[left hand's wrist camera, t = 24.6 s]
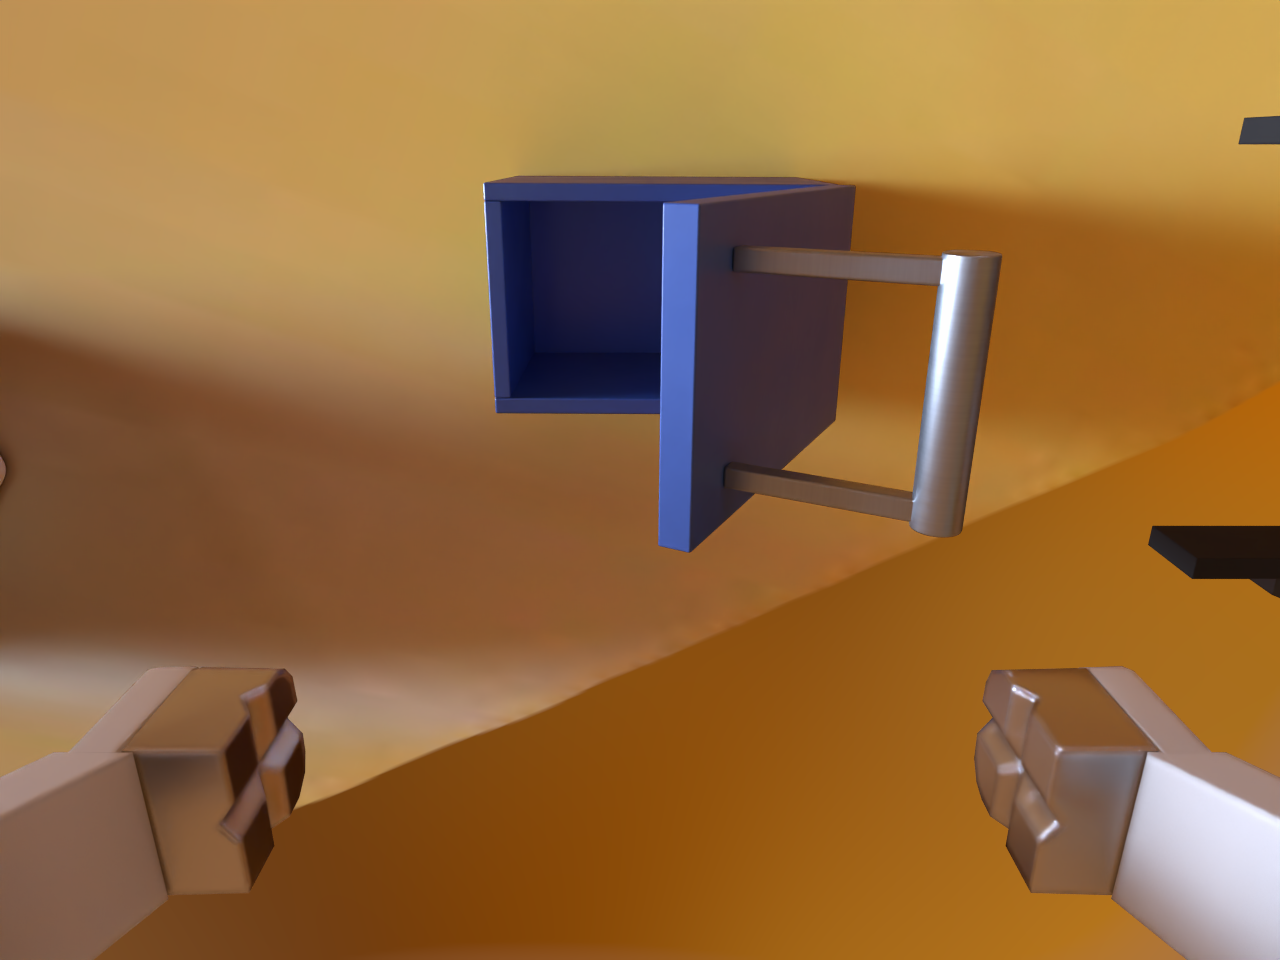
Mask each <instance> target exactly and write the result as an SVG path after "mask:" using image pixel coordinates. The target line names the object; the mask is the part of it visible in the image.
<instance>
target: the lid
mask: <svg viewBox="0 0 1280 960" xmlns="http://www.w3.org/2000/svg"><path fill="white" fill-rule="evenodd" d="M855 189H856V187H855V186H854V185H825V186H815V187H806V188H797V189H787V190H778V191H768V192H759V193H749V194H740V195H731V196H721V197H712V198H702V199H693V200H683V201H674V202H665V203H664V204H663V247H662V320H661V394H660V467H659V541H658V544H659V546H662V547H666V548H671V549H675V550H680V551H684V552H691V551H693V550H694V549H695V548H696V547H697V546H698V545H699V544H700V543H701V542H702V541H704V540H705V539H706V538H707V537H708V536H709V535H710V534H711V533H712V532H713V531H714V530H716V529H717V528H718V527H719V526H720V525H721V524H722V523H723V522H724V521H725V520H727V519H728V518H729V517H730V516H731V515H732V514H733V513H734V512H735V511H736V510H738V509H739V508H740V507H741V506H742V505H743V504H744V503H745V502H746V501H747V500H748V499H750V498H751V497H752V496H753V495H754V494H755V493H757V494H762V495H768V496H773V497H779V498H784V499H790V500H795V501H800V502H806V503H811V504H817V505H822V506H828V507H833V508H838V509H844V510H849V511H855V512H860V513H866V514H871V515H877V516H882V517H887V518H893V519H898V520H904V521H909V525H910V527H911V528H912V529H913V530H914V531H916V532H918V533H921V534H924V535H927V536H933V537H953V536H956V535H959V534H960V533H961V531H962V527H963V521H964V514H965V507H966V500H967V493H968V486H969V480H970V473H971V466H972V459H973V452H974V446H975V439H976V432H977V425H978V418H979V411H980V405H981V398H982V391H983V384H984V377H985V371H986V364H987V357H988V350H989V343H990V336H991V330H992V323H993V316H994V309H995V302H996V295H997V289H998V282H999V275H1000V268H1001V261H1002V254H1000V253H997V252H991V251H980V250H948V251H944V252H943V253H942V256H933V255H914V254H896V253H878V252H860V251H850V247H851V235H852V224H853V212H854V201H855ZM848 280H858V281H872V282H887V283H901V284H916V285H930V286H938V291H937V299H936V307H935V315H934V323H933V332H932V340H931V348H930V356H929V364H928V372H927V380H926V388H925V397H924V405H923V413H922V421H921V429H920V437H919V445H918V454H917V462H916V470H915V478H914V486H913V492H909V491H904V490H898V489H892V488H886V487H880V486H874V485H868V484H862V483H856V482H850V481H844V480H839V479H833V478H827V477H821V476H815V475H809V474H803V473H797V472H791V471H785V470H781V469H783V468H784V467H785V466H786V465H787V464H788V463H789V462H790V461H791V460H792V459H793V458H795V457H796V456H797V455H798V454H799V453H800V452H801V451H802V450H803V449H804V448H806V447H807V446H808V445H809V444H810V443H811V442H812V441H813V440H814V439H815V438H817V437H818V436H819V435H820V434H821V433H822V432H823V431H824V430H825V429H826V428H827V427H829V426H830V425H831V424H832V423H833V422H834V421H835V419H836V408H837V396H838V385H839V373H840V362H841V350H842V339H843V327H844V316H845V304H846V293H847V281H848Z"/></svg>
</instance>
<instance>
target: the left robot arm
mask: <svg viewBox="0 0 1280 960" xmlns="http://www.w3.org/2000/svg"><path fill="white" fill-rule="evenodd" d="M5 475H6V466H5V463H4V461H3V459H2V457H1V455H0V486H1V484H2V482H3V480H4V478H5ZM296 702H297V697H296V692H295V687H294V682H293V677H292V676H291V675H290V674H289V673H288V672H287V671H286V670H285V669H272V668H222V667H201V668H198V667H157V668H153V669H149V670H147V671H146V672H145V673H144V674H143V675H142V676H141V677H140V678H139V679H138V680H137V681H136V682H135V683H134V684H133V685H132V687H131V688H130V689H129V690H128V691H127V692H126V693H125V694H124V695H123V696H122V697H121V698H120V699H119V700H118V701H117V702H116V703H115V704H114V705H113V706H112V707H111V708H110V709H109V710H108V712H107V713H106V714H105V715H104V716H103V717H102V718H101V719H100V720H99V721H98V722H97V723H96V724H95V725H94V726H93V727H92V728H91V729H90V730H89V731H88V732H87V733H86V734H85V735H84V737H83V738H82V739H81V740H80V741H79V742H78V743H77V744H76V745H75V746H74V747H73V748H72V749H71V750H70V751H69V752H54V753H52V754H49V755H47V756H45V757H43V758H41V759H39V760H37V761H34V762H32V763H30V764H28V765H26V766H24V767H22V768H19V769H17V770H15V771H13V772H11V773H9V774H7V775H4V776H2V777H0V960H94V959H95V958H96V957H97V956H99V955H100V954H101V953H102V952H104V951H105V950H106V949H107V948H109V947H110V946H111V945H112V944H114V943H115V942H116V941H117V940H119V939H120V938H121V937H122V936H123V935H125V934H126V933H127V932H128V931H130V930H131V929H132V928H133V927H135V926H136V925H137V924H138V923H140V922H141V921H142V920H143V919H145V918H146V917H147V916H148V915H149V914H151V913H152V912H153V911H154V910H156V909H157V908H158V907H159V906H161V905H162V904H163V903H164V902H166V901H167V900H168V895H187V894H222V893H249V892H250V890H251V888H252V886H253V885H254V883H255V881H256V879H257V877H258V875H259V873H260V872H261V870H262V868H263V866H264V864H265V862H266V860H267V858H268V857H269V855H270V853H271V851H272V849H273V847H274V841H273V836H272V830H271V829H272V828H273V827H275V826H276V825H278V824H279V823H281V822H282V821H283V820H285V819H286V818H288V817H289V816H290V815H291V813H292V811H293V809H294V807H295V805H296V803H297V801H298V799H299V796H300V792H301V787H302V783H303V779H304V774H305V746H304V740H303V733H302V732H301V731H300V730H299V729H298V728H297V727H296V726H295V725H294V724H293V723H292V722H291V721H290V720H289V719H288V718H287V717H288V715H289V714H290V712H291V711H292V709H293V707H294V706H295V704H296ZM983 702H984V704H985V706H986V707H987V709H988V710H989V712H990V714H991V715H992V717H993V718H992V719H991V720H990V721H989V722H988V723H987V724H986V725H985V726H984V727H983V728H982V729H981V730H980V731H979V732H978V733H977V741H976V749H975V757H974V760H975V770H976V781H977V785H978V788H979V792H980V795H981V798H982V801H983V803H984V805H985V807H986V809H987V811H988V813H989V815H990V816H991V817H992V818H994V819H995V820H997V821H998V822H999V823H1001V824H1002V825H1004V826H1005V827H1007V828H1008V829H1009V830H1008V836H1007V841H1006V847H1007V849H1008V851H1009V853H1010V855H1011V857H1012V858H1013V860H1014V862H1015V864H1016V866H1017V868H1018V870H1019V871H1020V873H1021V875H1022V877H1023V879H1024V881H1025V883H1026V884H1027V886H1028V888H1029V890H1030V892H1031V893H1056V894H1093V895H1112V900H1114V901H1115V902H1116V903H1117V904H1119V905H1120V906H1121V907H1122V908H1124V909H1125V910H1126V911H1127V912H1128V913H1130V914H1131V915H1132V916H1133V917H1135V918H1136V919H1137V920H1138V921H1140V922H1141V923H1142V924H1143V925H1144V926H1146V927H1147V928H1148V929H1149V930H1151V931H1152V932H1153V933H1154V934H1156V935H1157V936H1158V937H1159V938H1161V939H1162V940H1163V941H1164V942H1166V943H1167V944H1168V945H1169V946H1170V947H1172V948H1173V949H1174V950H1175V951H1177V952H1178V953H1179V954H1180V955H1182V956H1183V957H1184V958H1185V959H1187V960H1280V777H1277V776H1275V775H1273V774H1271V773H1269V772H1267V771H1265V770H1263V769H1261V768H1258V767H1256V766H1254V765H1252V764H1250V763H1248V762H1246V761H1243V760H1241V759H1239V758H1237V757H1235V756H1233V755H1231V754H1228V753H1226V752H1211V751H1210V750H1209V749H1208V748H1207V747H1206V746H1205V745H1204V744H1203V743H1202V742H1201V741H1200V740H1199V739H1198V737H1197V736H1196V735H1195V734H1194V733H1193V732H1192V731H1191V730H1190V729H1189V728H1188V727H1187V726H1186V725H1185V724H1184V723H1183V722H1182V721H1181V720H1180V719H1179V718H1178V717H1177V716H1176V715H1175V714H1174V712H1173V711H1172V710H1171V709H1170V708H1169V707H1168V706H1167V705H1166V704H1165V703H1164V702H1163V701H1162V700H1161V699H1160V698H1159V697H1158V696H1157V695H1156V694H1155V693H1154V692H1153V691H1152V690H1151V688H1150V687H1149V686H1148V685H1147V684H1146V683H1145V682H1144V681H1143V680H1142V679H1141V678H1140V677H1139V676H1138V675H1137V674H1136V673H1135V672H1134V671H1133V670H1130V669H1128V668H1125V667H1123V666H1114V667H1086V668H1064V669H1023V670H992V671H991V673H990V675H989V677H988V679H987V681H986V685H985V691H984V696H983Z"/></svg>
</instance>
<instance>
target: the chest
mask: <svg viewBox="0 0 1280 960" xmlns="http://www.w3.org/2000/svg"><path fill="white" fill-rule="evenodd" d="M825 185H837V184H832V183H826V182H820V181H814V180H809V179H803V178H797V177H626V176H515V177H510V178H505V179H500V180H495V181H490V182H486V183H484V184H483V190H484V200H485V202H484V208H485V226H486V245H487V263H488V281H489V299H490V317H491V336H492V354H493V372H494V390H495V397H496V398H495V408H496V413H555V414H660V394H661V320H662V247H663V204H664V203H665V202H674V201H683V200H693V199H702V198H712V197H721V196H731V195H740V194H749V193H759V192H768V191H778V190H787V189H797V188H806V187H815V186H825Z"/></svg>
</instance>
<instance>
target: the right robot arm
mask: <svg viewBox="0 0 1280 960" xmlns="http://www.w3.org/2000/svg"><path fill="white" fill-rule="evenodd" d="M1239 144H1280V116H1271V117H1253V118H1244V122H1243V127H1242V131H1241V135H1240V140H1239ZM1148 545H1149V546H1150V547H1152V548H1153V549H1154V550H1156V551H1157V552H1158V553H1159V554H1161V555H1162V556H1163V557H1165V558H1166V559H1167V560H1168V561H1170V562H1171V563H1172V564H1174V565H1175V566H1176V567H1178V568H1179V569H1180V570H1181V571H1183V572H1184V573H1185V574H1187V575H1188V576H1189V577H1190V578H1192V579H1250V580H1252V581H1253V582H1255V583H1256V584H1257V585H1259V586H1260V587H1262V588H1263V589H1264V590H1266V591H1267V592H1269V593H1270V594H1272V595H1274V596H1276V597H1279V598H1280V526H1152V530H1151V535H1150V539H1149V544H1148Z"/></svg>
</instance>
